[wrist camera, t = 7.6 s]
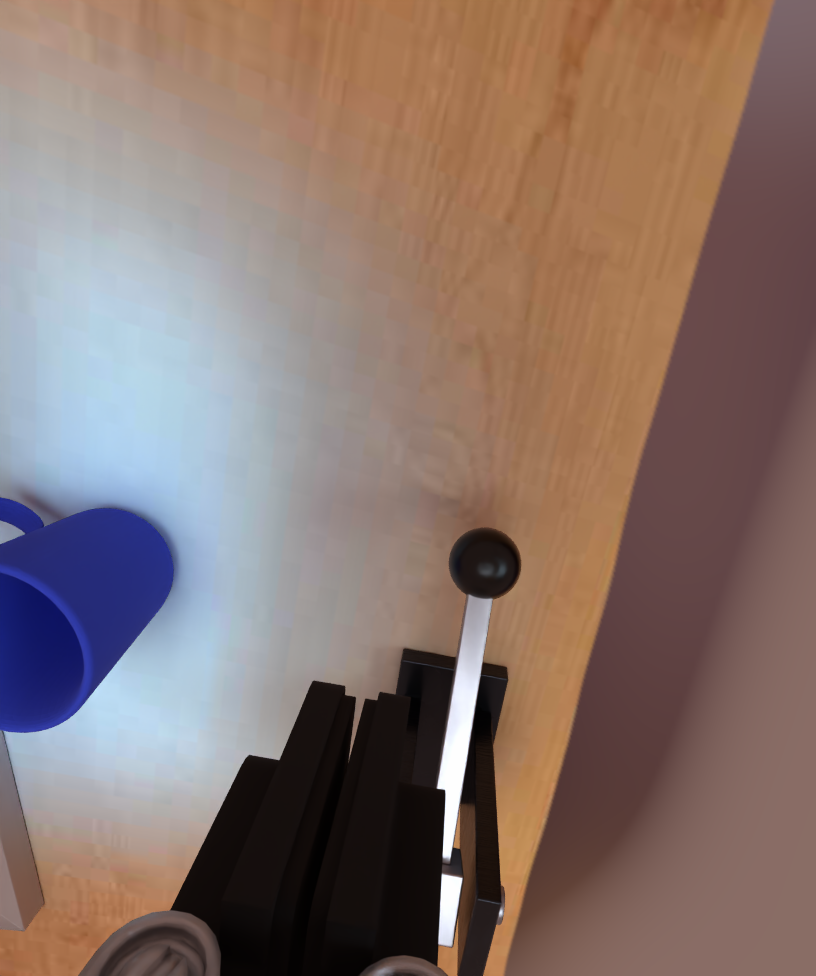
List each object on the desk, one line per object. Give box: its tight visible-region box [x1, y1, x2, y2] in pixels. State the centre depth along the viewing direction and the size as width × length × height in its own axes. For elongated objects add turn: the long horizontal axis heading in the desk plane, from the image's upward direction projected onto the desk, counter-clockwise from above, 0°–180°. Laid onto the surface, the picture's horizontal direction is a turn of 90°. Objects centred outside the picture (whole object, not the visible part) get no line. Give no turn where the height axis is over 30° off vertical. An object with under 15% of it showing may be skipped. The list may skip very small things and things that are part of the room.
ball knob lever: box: [435, 528, 521, 948], centre depth 27 cm, size 17×3×3 cm, turn 172°
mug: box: [0, 497, 173, 733], centre depth 31 cm, size 8×12×10 cm
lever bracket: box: [396, 649, 508, 976], centre depth 31 cm, size 9×6×13 cm, turn 172°
